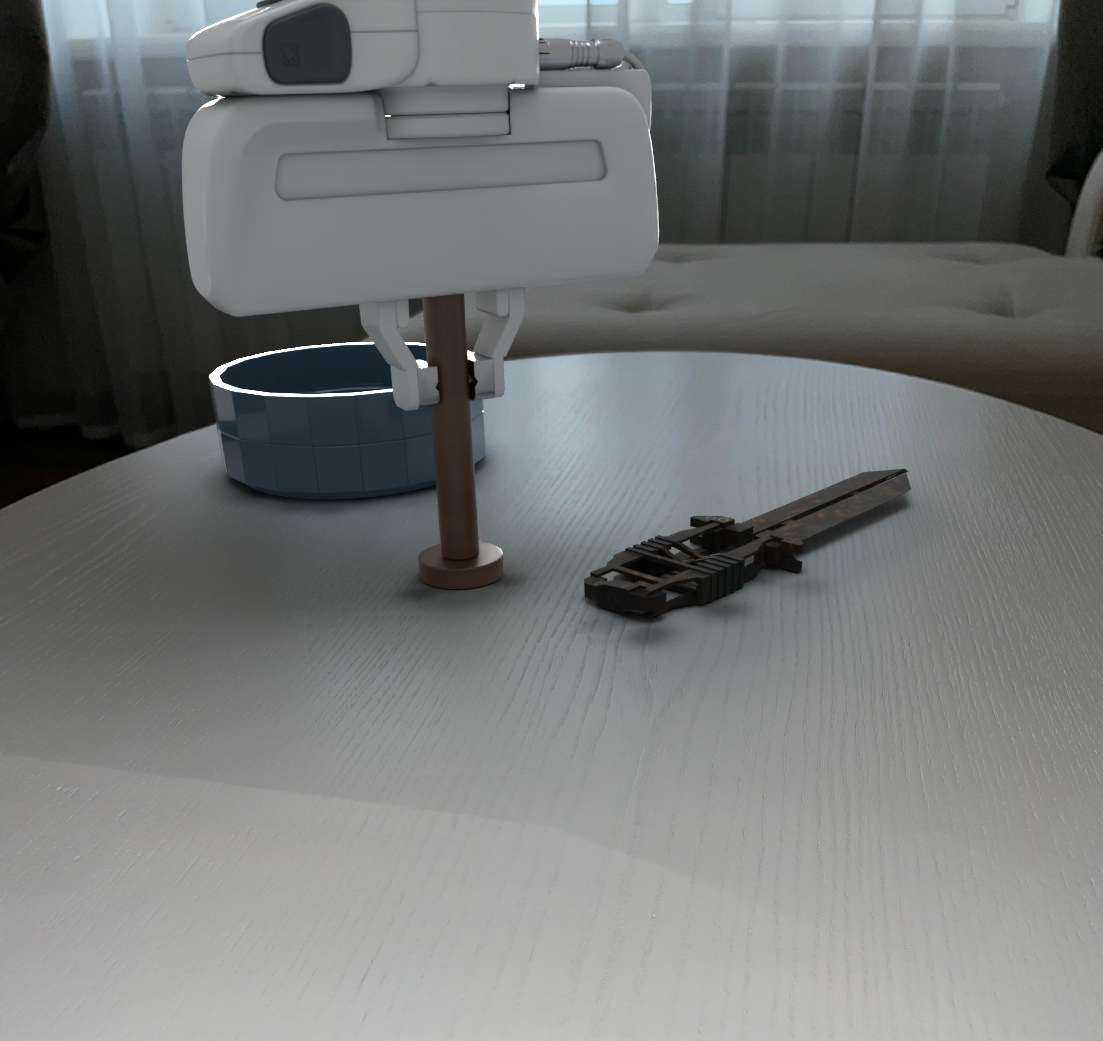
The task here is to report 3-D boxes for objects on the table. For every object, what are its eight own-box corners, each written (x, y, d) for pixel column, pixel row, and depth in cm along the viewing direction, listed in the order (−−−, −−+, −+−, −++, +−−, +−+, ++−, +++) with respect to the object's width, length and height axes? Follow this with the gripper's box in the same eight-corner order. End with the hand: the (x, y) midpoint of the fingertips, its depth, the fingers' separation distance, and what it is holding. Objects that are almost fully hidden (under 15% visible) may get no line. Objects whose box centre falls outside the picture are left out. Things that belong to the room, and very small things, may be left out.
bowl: (174, 495, 68) (155, 391, 65) (299, 427, 81) (288, 339, 78) (432, 511, 64) (423, 401, 61) (518, 437, 77) (514, 344, 74)
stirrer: (407, 586, 54) (372, 211, 46) (437, 557, 57) (409, 203, 49) (488, 592, 53) (466, 210, 45) (514, 562, 56) (498, 202, 48)
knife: (884, 478, 67) (886, 454, 66) (984, 501, 63) (987, 476, 62) (553, 589, 53) (552, 560, 52) (652, 629, 49) (652, 598, 48)
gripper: (610, 41, 51) (610, 362, 58) (141, 43, 43) (205, 419, 49) (693, 33, 46) (683, 384, 53) (182, 32, 38) (247, 451, 44)
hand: (449, 401), depth 51 cm, fingers closed on stirrer, 2 cm apart
